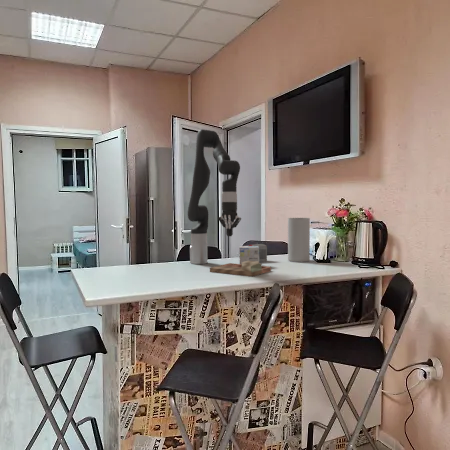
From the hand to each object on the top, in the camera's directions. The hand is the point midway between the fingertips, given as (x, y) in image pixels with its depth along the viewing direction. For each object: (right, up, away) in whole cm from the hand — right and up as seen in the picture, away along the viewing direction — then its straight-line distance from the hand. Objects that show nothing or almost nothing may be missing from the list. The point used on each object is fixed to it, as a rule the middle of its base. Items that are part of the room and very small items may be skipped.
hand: (229, 236), depth 197 cm
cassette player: (+15, -16, +36) cm, 42 cm away
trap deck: (+5, -18, +3) cm, 19 cm away
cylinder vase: (+41, -16, +37) cm, 57 cm away
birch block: (+10, -16, -5) cm, 20 cm away
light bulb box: (+11, -17, +20) cm, 29 cm away
